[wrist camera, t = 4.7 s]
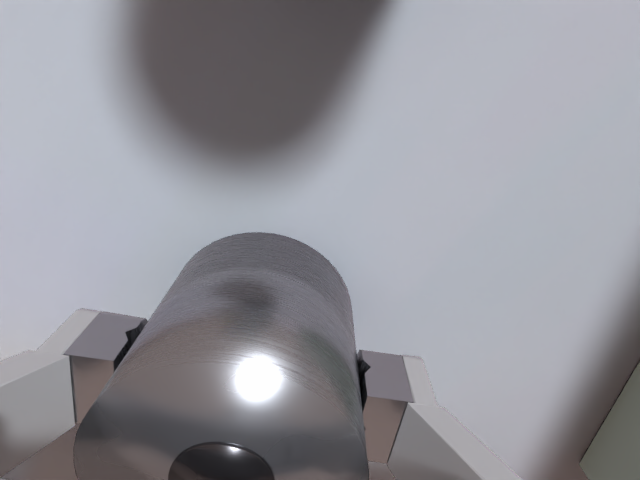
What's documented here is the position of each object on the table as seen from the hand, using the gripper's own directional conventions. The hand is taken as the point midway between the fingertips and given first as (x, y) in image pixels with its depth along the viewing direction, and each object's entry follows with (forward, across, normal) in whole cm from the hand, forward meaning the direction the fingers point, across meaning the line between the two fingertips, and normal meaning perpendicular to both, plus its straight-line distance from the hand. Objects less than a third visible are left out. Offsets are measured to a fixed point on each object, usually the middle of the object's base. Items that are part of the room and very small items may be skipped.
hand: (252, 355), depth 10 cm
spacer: (+2, 0, 0) cm, 2 cm away
